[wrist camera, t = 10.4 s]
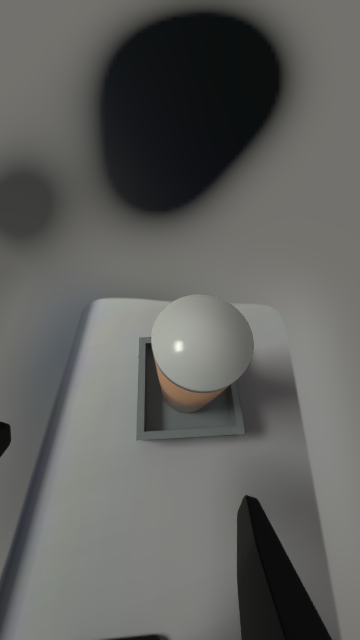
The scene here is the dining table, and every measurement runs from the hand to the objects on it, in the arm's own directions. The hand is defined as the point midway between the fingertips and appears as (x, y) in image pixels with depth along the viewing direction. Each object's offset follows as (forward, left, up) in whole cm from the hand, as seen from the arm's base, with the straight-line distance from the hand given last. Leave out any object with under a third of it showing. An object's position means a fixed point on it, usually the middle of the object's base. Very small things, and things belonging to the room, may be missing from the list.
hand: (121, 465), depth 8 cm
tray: (+4, +5, -14) cm, 15 cm away
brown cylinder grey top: (+3, +5, -13) cm, 14 cm away
